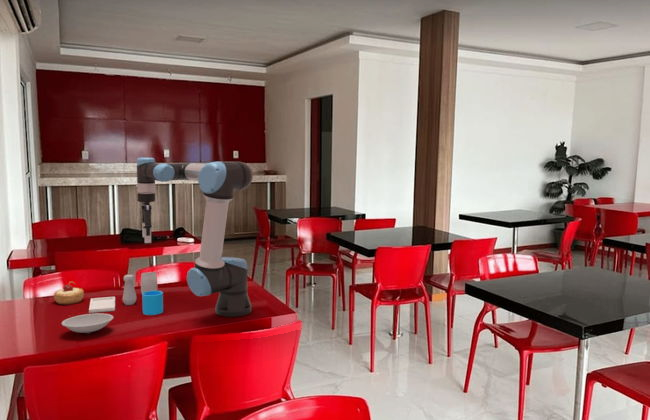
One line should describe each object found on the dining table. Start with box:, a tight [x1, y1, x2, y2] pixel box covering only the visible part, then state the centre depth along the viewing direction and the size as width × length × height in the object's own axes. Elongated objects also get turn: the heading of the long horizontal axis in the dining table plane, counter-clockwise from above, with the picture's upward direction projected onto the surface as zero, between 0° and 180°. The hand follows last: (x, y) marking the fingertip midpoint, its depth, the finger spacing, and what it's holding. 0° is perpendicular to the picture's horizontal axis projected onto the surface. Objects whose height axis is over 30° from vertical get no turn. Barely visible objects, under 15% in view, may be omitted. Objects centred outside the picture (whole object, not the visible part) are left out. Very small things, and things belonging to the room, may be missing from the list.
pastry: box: [53, 281, 85, 306], centre depth 233 cm, size 12×12×9 cm
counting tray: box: [88, 296, 116, 314], centre depth 227 cm, size 17×10×2 cm, turn 21°
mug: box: [141, 290, 164, 316], centre depth 222 cm, size 12×8×8 cm
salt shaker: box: [122, 274, 137, 306], centre depth 231 cm, size 6×6×13 cm
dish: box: [61, 312, 114, 334], centre depth 195 cm, size 18×14×5 cm
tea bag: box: [140, 271, 158, 295], centre depth 248 cm, size 4×7×10 cm, turn 120°
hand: (146, 240), depth 235 cm, fingers open, 13 cm apart
